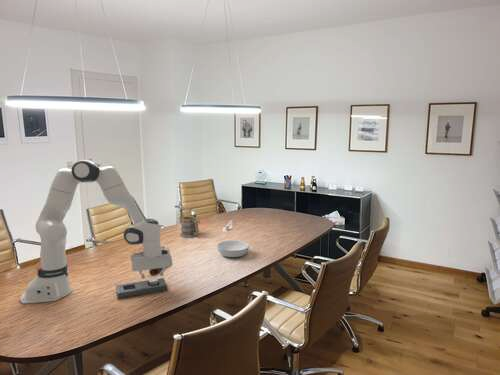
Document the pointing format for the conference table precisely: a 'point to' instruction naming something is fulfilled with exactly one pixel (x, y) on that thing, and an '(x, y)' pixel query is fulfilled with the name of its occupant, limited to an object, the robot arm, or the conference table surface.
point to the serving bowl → (233, 248)
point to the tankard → (189, 227)
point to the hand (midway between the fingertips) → (152, 276)
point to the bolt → (154, 271)
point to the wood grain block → (153, 282)
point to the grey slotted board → (140, 288)
